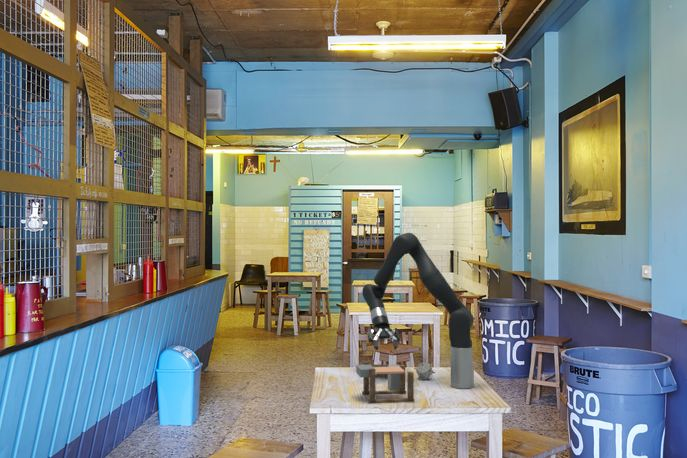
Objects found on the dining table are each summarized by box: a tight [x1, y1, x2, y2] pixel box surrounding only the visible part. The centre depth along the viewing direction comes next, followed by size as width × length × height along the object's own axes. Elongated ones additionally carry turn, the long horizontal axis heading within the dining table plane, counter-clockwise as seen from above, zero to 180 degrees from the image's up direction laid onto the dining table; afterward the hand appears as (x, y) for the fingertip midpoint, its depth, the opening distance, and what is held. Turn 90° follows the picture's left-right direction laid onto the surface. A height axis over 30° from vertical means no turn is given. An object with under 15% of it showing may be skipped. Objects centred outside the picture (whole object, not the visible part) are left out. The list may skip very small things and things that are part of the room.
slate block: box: [387, 364, 400, 391], centre depth 259 cm, size 5×5×10 cm
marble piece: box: [371, 364, 389, 380], centre depth 289 cm, size 17×15×4 cm
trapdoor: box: [355, 363, 406, 378], centre depth 245 cm, size 18×11×3 cm, turn 98°
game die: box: [413, 360, 436, 381], centre depth 280 cm, size 9×8×10 cm
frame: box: [361, 361, 415, 404], centre depth 246 cm, size 18×15×13 cm
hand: (386, 348), depth 271 cm, fingers open, 8 cm apart
